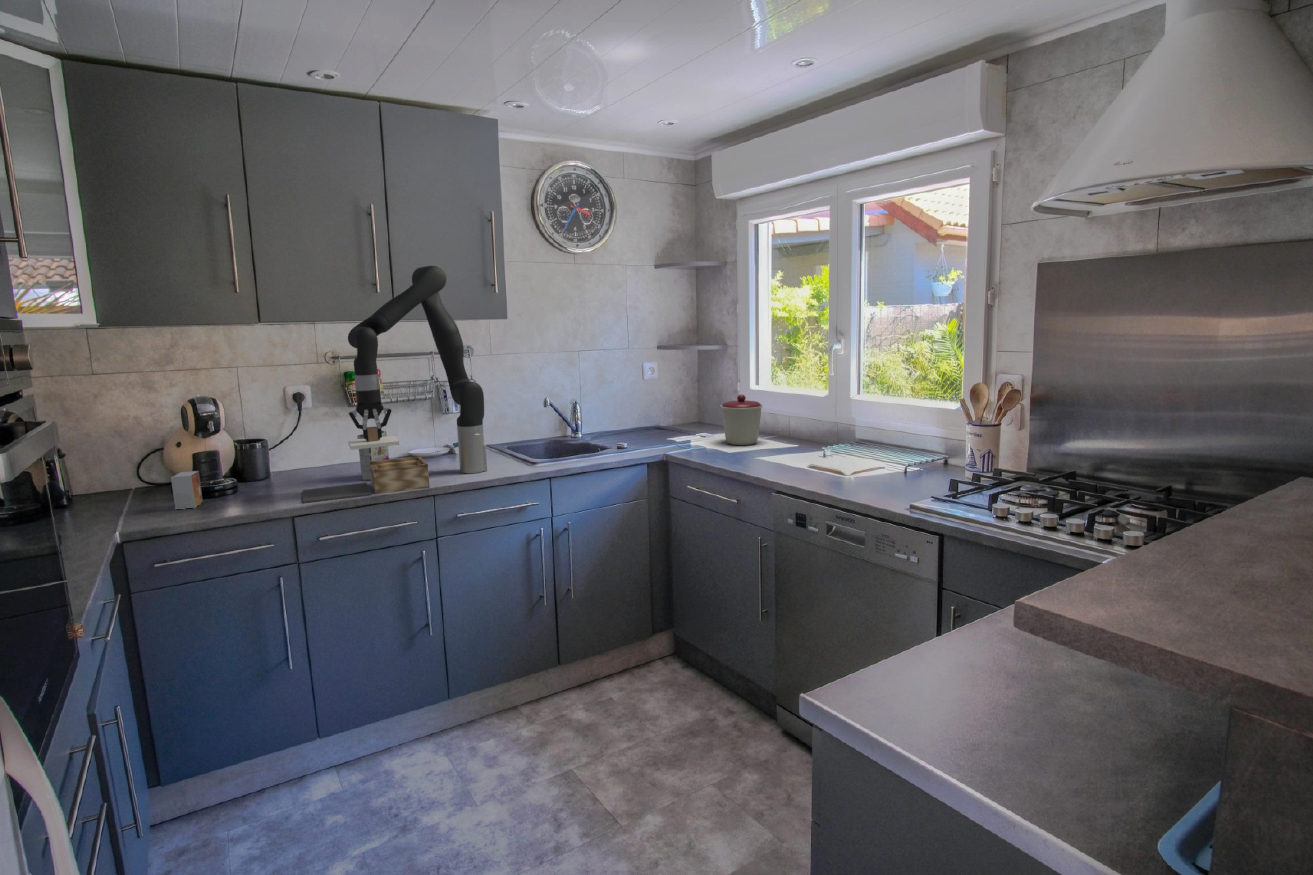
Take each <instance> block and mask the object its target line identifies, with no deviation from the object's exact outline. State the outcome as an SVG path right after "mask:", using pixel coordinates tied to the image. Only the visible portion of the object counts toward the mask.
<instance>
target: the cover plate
mask: <svg viewBox="0 0 1313 875" xmlns="http://www.w3.org/2000/svg"><path fill="white" fill-rule="evenodd" d="M367 430H368V440H369V441H366V439H358V438H356V439H348V440H347V443H348V446H349V449H350V451H353V450H359V449H364V448H374V447H383V446H388V447H393V446H399V445H400V440H398V438H397V437H396V436H395V435H389V436H387V435H386V437H382V438H380V440H378V432H377V426H367Z"/></svg>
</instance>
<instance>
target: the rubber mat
mask: <svg viewBox="0 0 1313 875" xmlns="http://www.w3.org/2000/svg"><path fill="white" fill-rule="evenodd" d="M367 496H372V492H371V490H370V488H369V485H368V483H367V482H359V483H353V484H352V483H351V484H344V485H334V486H326V487H325V486H324V487H316V488H309V489H302V504H309V503H318V502H324V501H326V502H327V501H334V500H333V499H335V500H342V499H350V498H351V499H352V498H358V497H367Z"/></svg>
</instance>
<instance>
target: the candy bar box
mask: <svg viewBox="0 0 1313 875" xmlns="http://www.w3.org/2000/svg"><path fill="white" fill-rule="evenodd" d="M381 431H382V437H386V436H387V430H385V429H381ZM356 439H364V437H363V433H361V434H357V438H356ZM358 455H359V463H360V473H361V479H362V481H371V472H370V462H372V461H381V460H390V457H389V446H383V447H374V448H364V449H358Z"/></svg>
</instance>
